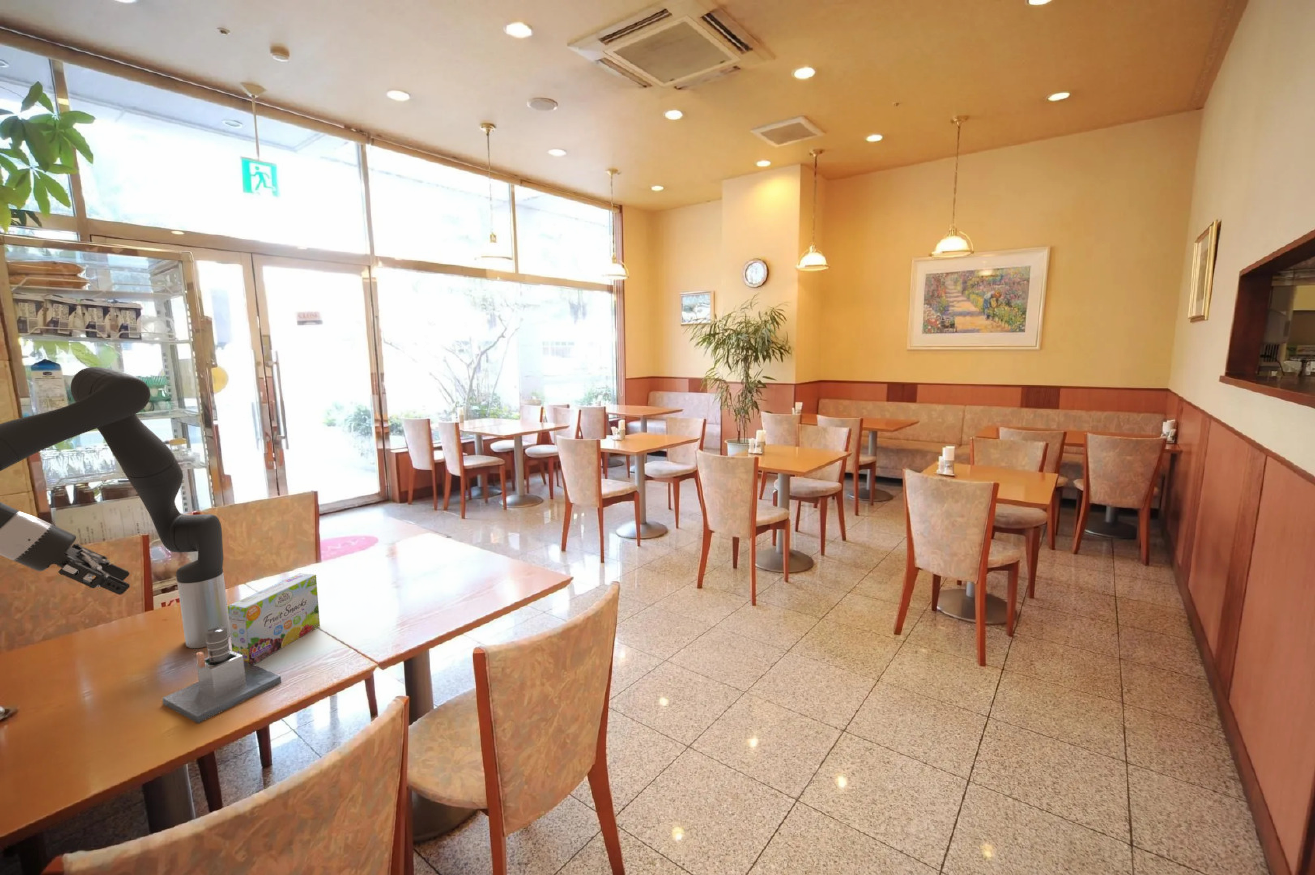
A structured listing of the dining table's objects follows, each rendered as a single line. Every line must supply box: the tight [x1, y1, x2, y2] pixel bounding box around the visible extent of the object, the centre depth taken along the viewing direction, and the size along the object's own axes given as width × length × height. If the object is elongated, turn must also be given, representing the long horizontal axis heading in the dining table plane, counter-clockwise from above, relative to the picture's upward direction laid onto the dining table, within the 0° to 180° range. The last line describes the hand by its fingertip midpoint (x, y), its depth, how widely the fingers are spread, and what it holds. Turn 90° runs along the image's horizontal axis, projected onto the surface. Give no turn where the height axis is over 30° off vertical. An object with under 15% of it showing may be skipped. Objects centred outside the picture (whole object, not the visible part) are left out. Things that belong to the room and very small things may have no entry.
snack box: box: [227, 573, 321, 665], centre depth 143 cm, size 21×6×15 cm, turn 168°
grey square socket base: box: [161, 649, 282, 724], centre depth 122 cm, size 14×16×11 cm
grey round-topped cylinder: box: [206, 627, 231, 666], centre depth 122 cm, size 4×4×12 cm
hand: (126, 583), depth 111 cm, fingers open, 8 cm apart
